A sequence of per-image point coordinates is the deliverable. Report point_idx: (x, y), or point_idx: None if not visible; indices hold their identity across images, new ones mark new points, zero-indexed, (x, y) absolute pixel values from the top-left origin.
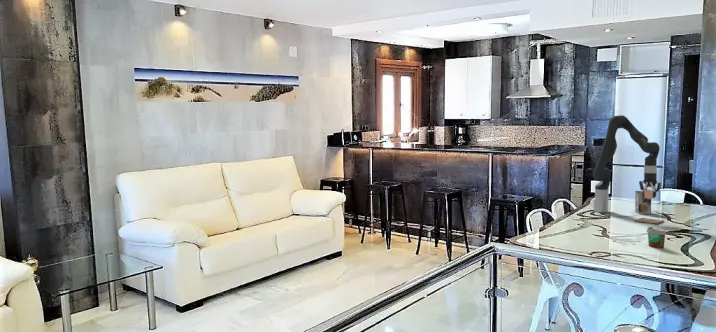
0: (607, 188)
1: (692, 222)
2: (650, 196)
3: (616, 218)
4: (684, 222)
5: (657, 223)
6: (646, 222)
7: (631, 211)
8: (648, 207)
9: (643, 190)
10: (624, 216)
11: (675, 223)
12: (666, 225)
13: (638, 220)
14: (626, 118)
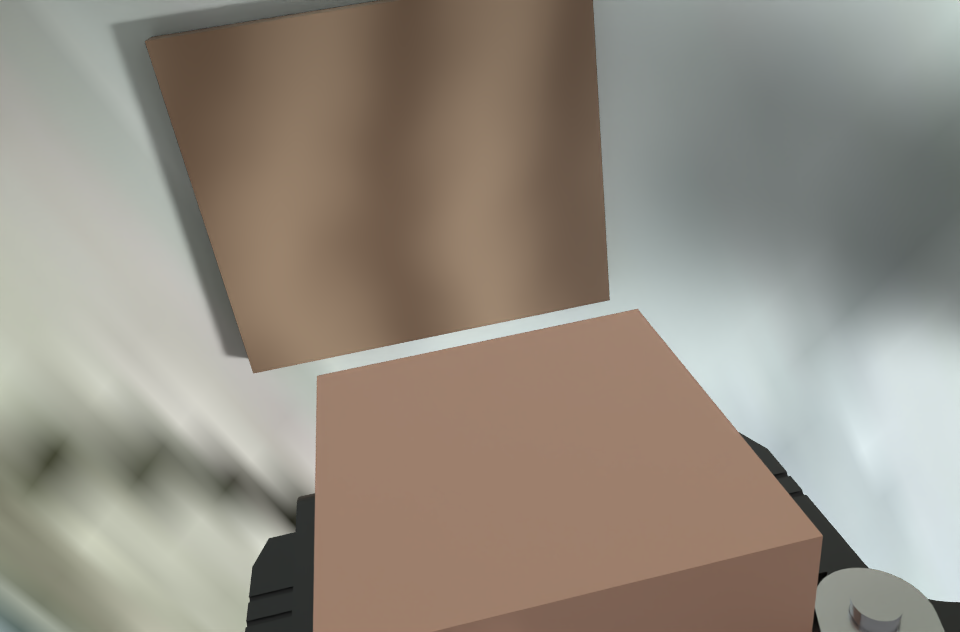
0: None
1: (7, 626)
2: (396, 414)
3: (948, 3)
4: (63, 552)
5: (163, 90)
6: (352, 5)
7: (914, 578)
8: None
9: (904, 587)
10: (890, 259)
11: (73, 403)
12: (10, 140)
13: (539, 26)
14: None
